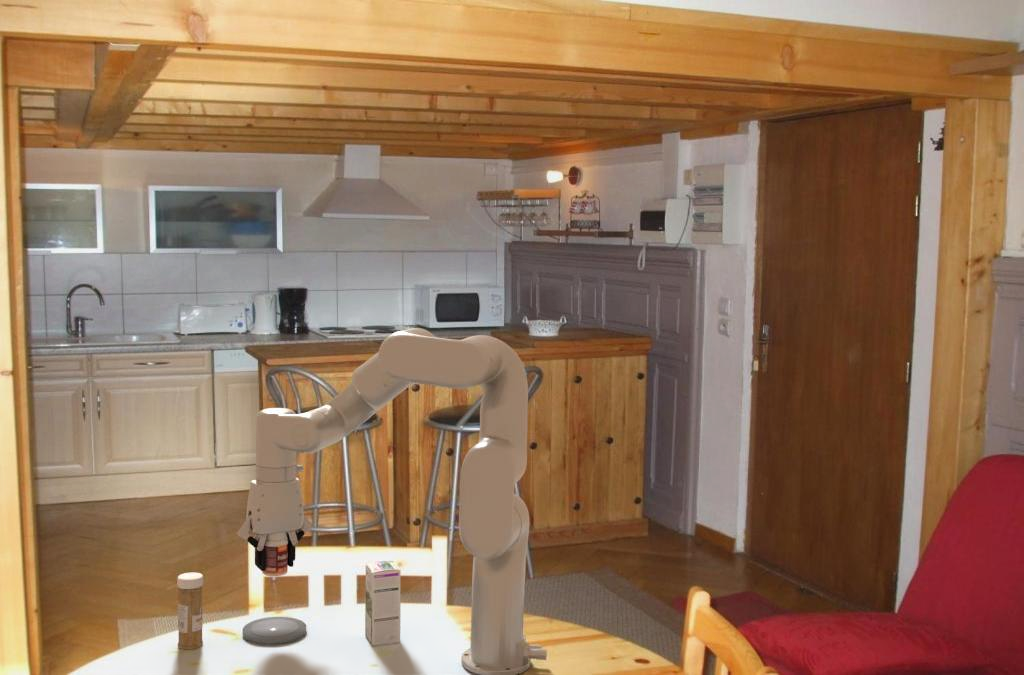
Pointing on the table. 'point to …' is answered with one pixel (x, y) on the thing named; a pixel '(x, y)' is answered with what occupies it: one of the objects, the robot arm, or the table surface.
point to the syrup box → (382, 603)
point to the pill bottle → (276, 554)
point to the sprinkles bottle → (190, 610)
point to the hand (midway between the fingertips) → (275, 565)
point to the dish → (274, 630)
